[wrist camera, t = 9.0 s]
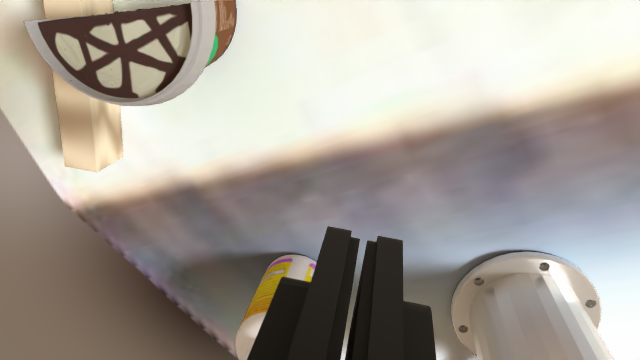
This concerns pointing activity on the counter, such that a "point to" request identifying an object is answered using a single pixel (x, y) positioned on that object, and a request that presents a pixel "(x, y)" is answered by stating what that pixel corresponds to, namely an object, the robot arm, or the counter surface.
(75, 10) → the maple board
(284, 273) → the supplement bottle
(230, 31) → the food container
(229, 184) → the counter surface
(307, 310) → the robot arm
